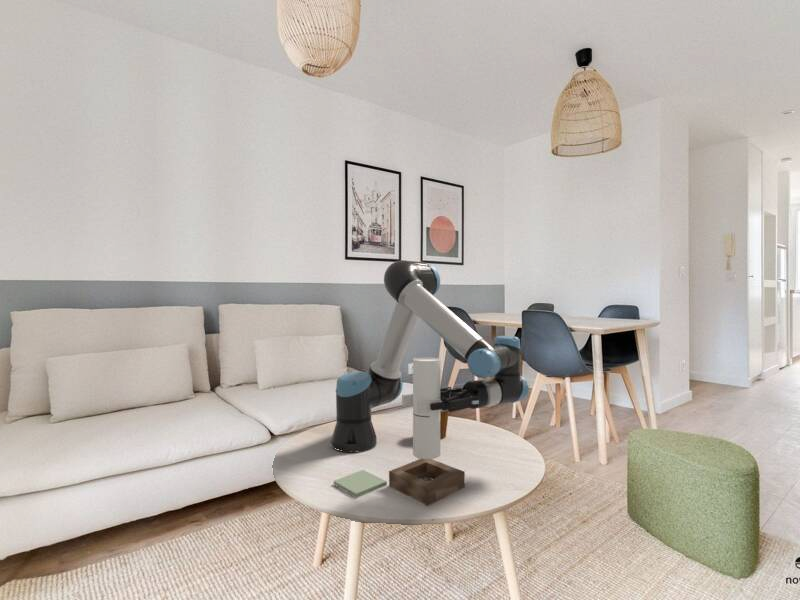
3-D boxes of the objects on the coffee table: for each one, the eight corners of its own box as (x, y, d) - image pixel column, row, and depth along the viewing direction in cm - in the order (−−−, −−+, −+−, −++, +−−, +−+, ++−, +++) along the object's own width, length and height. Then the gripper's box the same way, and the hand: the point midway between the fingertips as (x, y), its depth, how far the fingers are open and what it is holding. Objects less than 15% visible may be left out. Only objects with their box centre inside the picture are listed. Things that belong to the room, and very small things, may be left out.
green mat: (333, 484, 112) (333, 480, 112) (363, 473, 119) (363, 469, 119) (356, 497, 105) (356, 493, 105) (386, 484, 111) (386, 481, 111)
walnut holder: (389, 486, 111) (389, 471, 111) (425, 470, 120) (425, 456, 120) (428, 505, 101) (428, 489, 100) (464, 486, 110) (464, 471, 110)
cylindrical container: (444, 457, 108) (444, 360, 107) (418, 460, 106) (418, 361, 105) (434, 447, 115) (434, 356, 114) (409, 450, 113) (409, 357, 112)
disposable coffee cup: (454, 434, 151) (454, 401, 151) (443, 442, 143) (443, 407, 142) (430, 430, 156) (430, 397, 155) (418, 437, 147) (418, 403, 147)
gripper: (505, 416, 110) (431, 430, 99) (459, 398, 127) (392, 409, 117) (505, 387, 110) (431, 398, 99) (459, 374, 127) (392, 382, 116)
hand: (410, 404), depth 108 cm, fingers closed on cylindrical container, 7 cm apart
